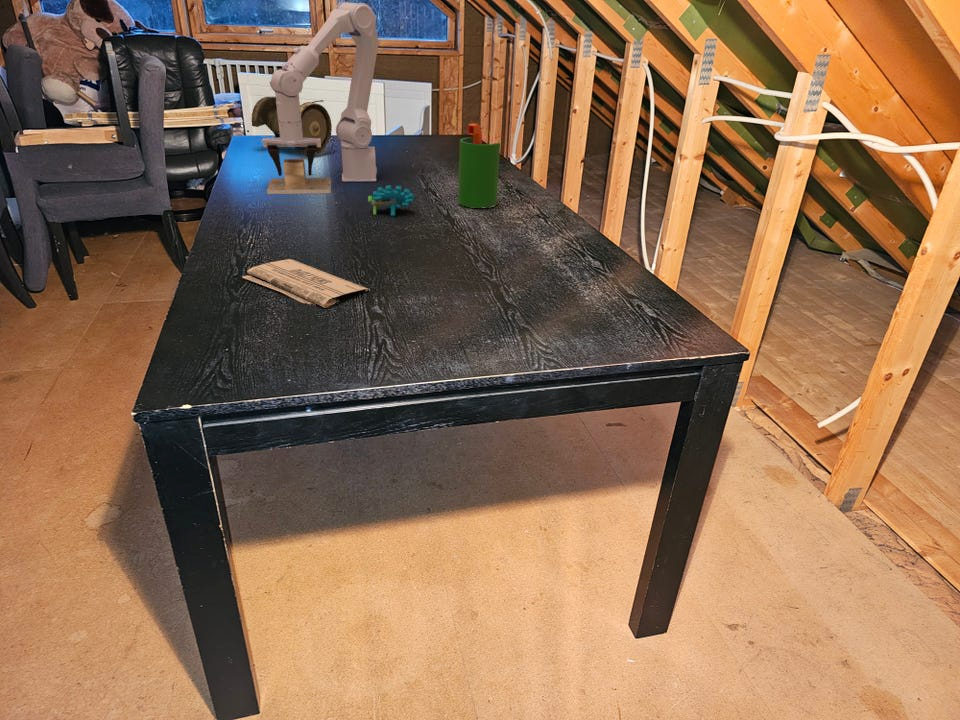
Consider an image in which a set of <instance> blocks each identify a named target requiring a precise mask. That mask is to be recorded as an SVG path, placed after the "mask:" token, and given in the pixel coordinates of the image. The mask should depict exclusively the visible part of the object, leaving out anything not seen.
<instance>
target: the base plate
mask: <svg viewBox="0 0 960 720" xmlns="http://www.w3.org/2000/svg"><path fill="white" fill-rule="evenodd" d="M331 190H332V178H331V177H306V185H305V186H286V184H285V177H284V178H283V177H281V178H280V177H279V178H276V177H275V178H271V177H270V181H269V183H268V187H267V189H266V194H267V195H285V194H286V195H287V194H288V195H289V194H290V195H291V194H292V195H293V194H297V195H300V194H304V195H307V194H309V195H310V194H331V192H332V191H331Z"/></svg>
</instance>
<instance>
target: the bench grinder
mask: <svg viewBox="0 0 960 720" xmlns="http://www.w3.org/2000/svg"><path fill="white" fill-rule="evenodd" d="M320 102H321V103H324V100H323V99H322V100H314V101H307V102H304V103H302V104H300V112H301V122H302V133H303V137H305V138H320V139H321V147H317V151H316V154H320V153H322V151H324V150H325V148H327V146H328V145H329V142H330V140H331V136H332V130H333V129H332V119H331V116H330V114H329V112H328V111H327V109H326V108H325V107H324V106H323V105H321V104H319V103H320ZM251 126H252V127H254V128H255V127H256V128H258V127H261V126H266V127H267V128H268V129H269V130H270V131H271V132H272V133H273V134H274V138H278V137H280V132H279V123H278V114H277V105H276V96H264V97H262V98H260V99H259V100H257V102H256V103H255V105H254V106H253V108H252V113H251ZM294 148H295V149H299V150H304V151H305V152H304V157H306V158H308V157H307V147H294Z"/></svg>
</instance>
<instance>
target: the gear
mask: <svg viewBox="0 0 960 720" xmlns="http://www.w3.org/2000/svg"><path fill="white" fill-rule="evenodd" d="M414 197H415V195H414V193H412V192H411V190H410V189H408V188H404V190H403V191H402V186H401V185H395V189H394V188H392V185H390V184H389V185H388V184H387V185H385V188H383V187H381V186H379V187H377V191H376V190H374V191H373V192H372V195H368V196H367V203H369V204H371V207H372V208H373V209H372V215H373V216H376V215H377V208H385V209H390V217H393V218H394V217H396V210H399V209H401V207H403V208H408V206H409V204H413V200H414Z"/></svg>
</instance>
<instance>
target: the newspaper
mask: <svg viewBox="0 0 960 720" xmlns="http://www.w3.org/2000/svg"><path fill="white" fill-rule="evenodd" d="M246 272H247V274H249V275H243V276H242V278H243V279H245V280H248V281H250V282H253V283H256V284H259V285H262V286H263V287H267V288H269V289H271V290H274V291H277V292H280V293H281V294H284V295H286V296H287V297H289V298H291V299H294V300H296V301H297V302H300V303H302V304H306V303H307V305H311V304H313V305H312V306H316V304H317V305H319V307H320V306H321V307H322V308H324V309H325V308H329V307H331V306H332V305H335V303H336V301H335V300H332V298H335V299H336V298H337V297H340V296H343V295H347V294H350V293H356V292H359V291H363V290H365V291H364V292H367V291H368V290H369V291H368V292H370V291H371V289H370V288H367V287H366V286H362V285H359V284H357V283H354V282H352V281H349V280H348V279H347V280H346V279H344V278H341V277H338V276H337V275H336V276H335V274H334V275H333V274H331V273H328V272H326V271H324V270H320V269H318V268H316V267H313V266H310V265H307V264H306V263H305V264H304V263H303V262H300V261H297V260H295V259H291V258H289V259H283V260H276V261H271V262H266V263H263V264H259V265H255V266H252V267H251V268H249V269H248V270H247V271H246ZM252 276H255V277H257V278H260V279H262V280H265V281H267V282H270V283H272V284H269V283H267V282H265V281H262V280H260V279H257V278H255V277H252ZM273 284H274V285H273ZM275 285H277V286H279V287H277V286H275ZM280 287H281V288H280ZM282 288H284V289H282ZM285 289H286V290H285ZM312 302H314V303H312Z"/></svg>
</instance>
